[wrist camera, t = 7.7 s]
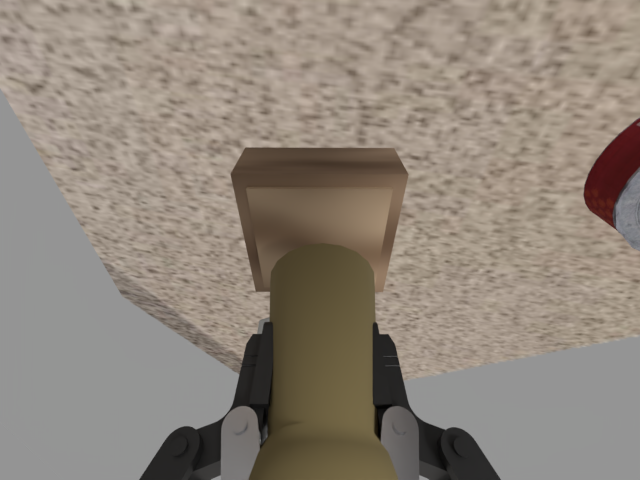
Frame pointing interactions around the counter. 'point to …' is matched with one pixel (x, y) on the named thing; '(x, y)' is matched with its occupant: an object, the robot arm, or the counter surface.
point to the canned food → (618, 184)
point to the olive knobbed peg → (322, 370)
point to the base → (318, 203)
